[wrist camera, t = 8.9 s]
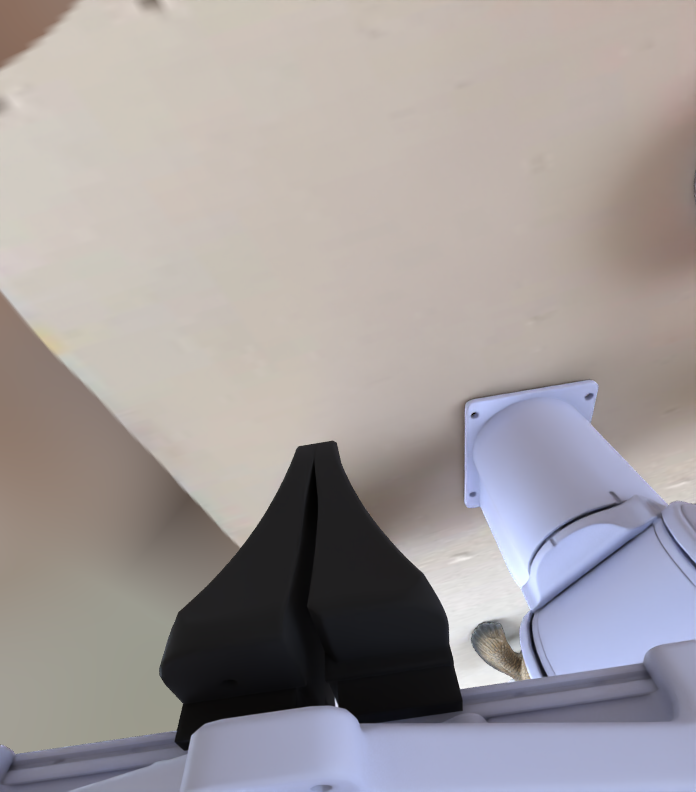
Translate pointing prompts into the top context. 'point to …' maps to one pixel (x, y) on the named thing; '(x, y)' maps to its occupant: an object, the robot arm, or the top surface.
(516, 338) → the top surface
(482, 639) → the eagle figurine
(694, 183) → the tin
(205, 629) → the robot arm
